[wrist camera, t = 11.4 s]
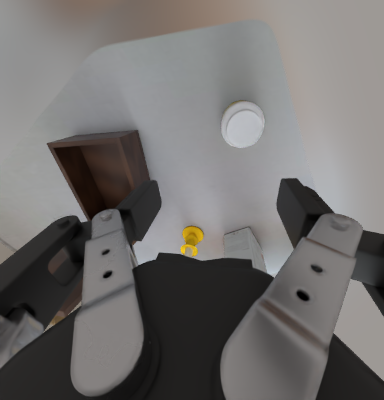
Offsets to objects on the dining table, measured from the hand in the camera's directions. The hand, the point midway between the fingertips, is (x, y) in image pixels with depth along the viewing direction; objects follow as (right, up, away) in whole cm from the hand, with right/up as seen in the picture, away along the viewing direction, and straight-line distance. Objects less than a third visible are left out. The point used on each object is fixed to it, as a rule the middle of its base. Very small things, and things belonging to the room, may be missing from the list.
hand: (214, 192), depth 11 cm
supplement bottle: (+6, +12, +16) cm, 21 cm away
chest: (-17, +5, +25) cm, 31 cm away
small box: (+11, -11, +29) cm, 33 cm away
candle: (-1, -9, +31) cm, 32 cm away
